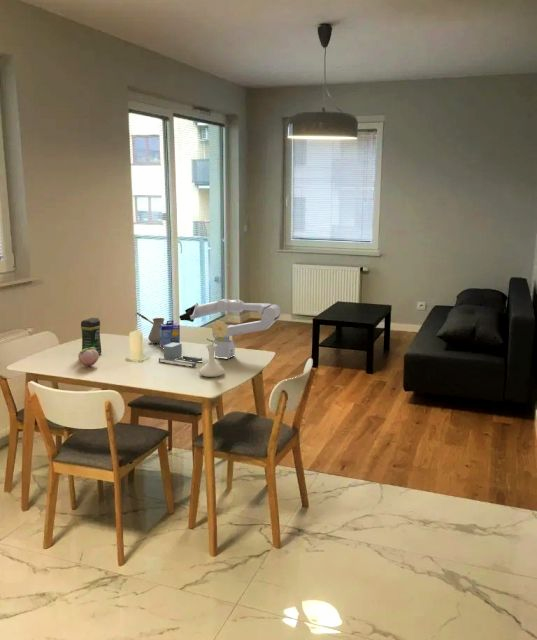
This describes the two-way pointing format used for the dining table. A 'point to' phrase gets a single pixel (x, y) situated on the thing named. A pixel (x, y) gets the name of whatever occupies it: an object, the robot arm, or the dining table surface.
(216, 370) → the flower in vase
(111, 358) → the dining table surface
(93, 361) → the decorative fruit
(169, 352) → the carton
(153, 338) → the coffee pot
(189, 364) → the price rail
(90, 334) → the coffee jar
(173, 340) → the ink cartridge box
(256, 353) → the dining table surface
